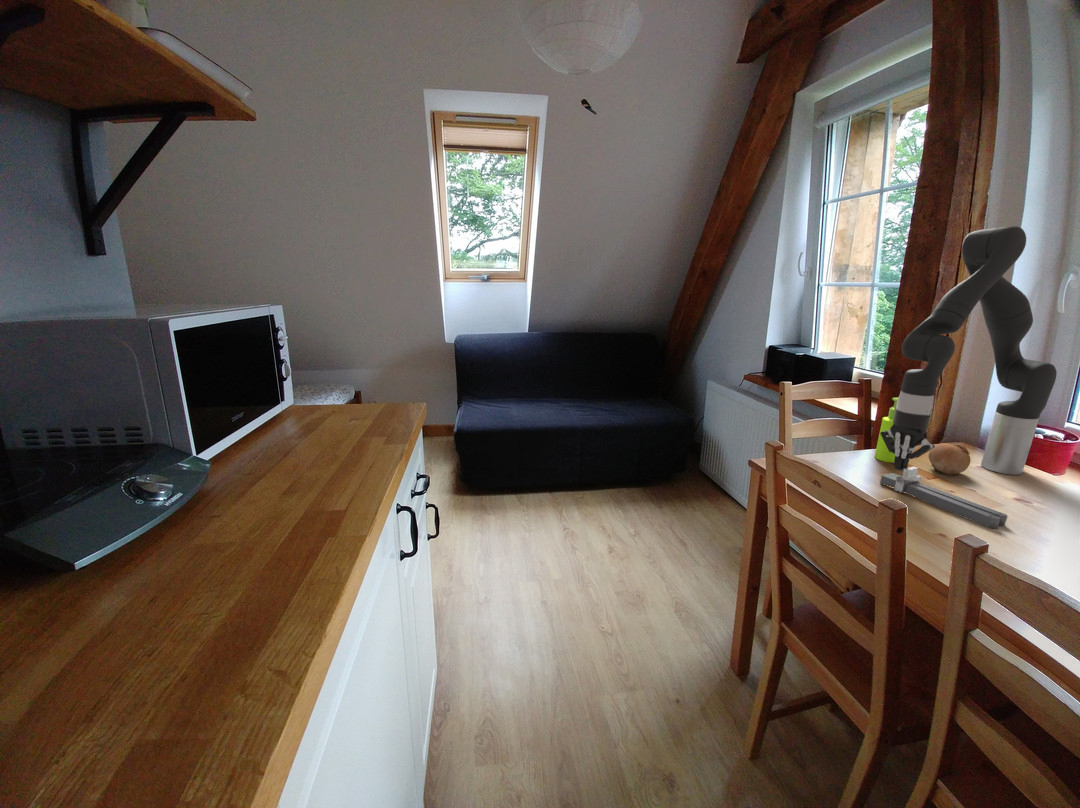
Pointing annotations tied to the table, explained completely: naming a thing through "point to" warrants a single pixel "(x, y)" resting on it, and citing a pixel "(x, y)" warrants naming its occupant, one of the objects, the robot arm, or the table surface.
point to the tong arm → (965, 502)
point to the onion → (949, 458)
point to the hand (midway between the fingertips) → (899, 469)
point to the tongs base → (945, 502)
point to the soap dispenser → (882, 450)
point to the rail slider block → (907, 478)
